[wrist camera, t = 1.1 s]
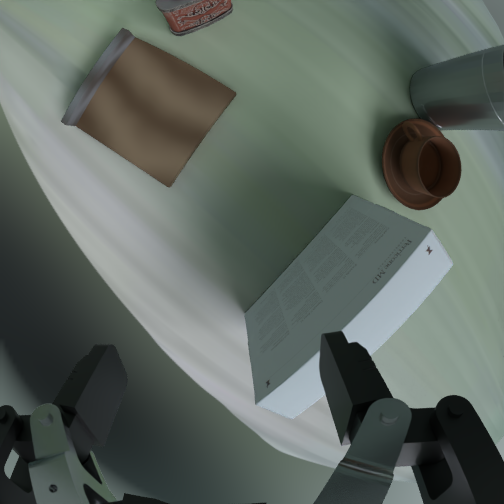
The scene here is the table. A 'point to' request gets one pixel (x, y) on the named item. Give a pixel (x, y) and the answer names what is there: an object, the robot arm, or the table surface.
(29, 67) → the table surface
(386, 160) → the cup and saucer
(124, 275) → the table surface
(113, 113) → the shelf board
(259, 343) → the skincare box
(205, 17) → the lighter
